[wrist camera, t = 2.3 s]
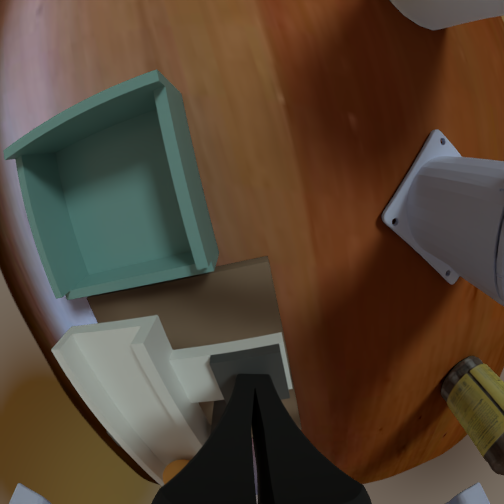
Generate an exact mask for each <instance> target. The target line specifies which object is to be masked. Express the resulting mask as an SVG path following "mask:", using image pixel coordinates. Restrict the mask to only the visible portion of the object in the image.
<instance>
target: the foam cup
mask: <svg viewBox="0 0 504 504" xmlns="http://www.w3.org/2000/svg"><path fill="white" fill-rule="evenodd" d="M390 2H391V3H392V4H393V5H394V6H395V7H396V8H397V9H398V10H399V11H400V12H401V13H402V14H403V15H404V16H405V17H407V18H408V19H410V20H411V21H413V22H414V23H416V24H417V25H419V26H421V27H424V28H427V29H430V30H438V29H443V28H448V27H451V26H455V25H459V24H463V23H467V22H471V21H476V20H481V19H485V18H491V17H496V16H502V15H504V0H390Z"/></svg>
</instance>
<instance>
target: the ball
mask: <svg viewBox="0 0 504 504" xmlns="http://www.w3.org/2000/svg"><path fill="white" fill-rule="evenodd" d="M189 461H190V460H186V459H180V460H175V461H173V462H171V463H170V464H168V465H167V466H166V468H165V469H164V472H163V482H164V485H165V484H166V483H167V482H168V481H169V480H171V479H172V478H173V477H174V476H175V475H176V474H178V473H179V472H180V471H181V470H182V469H183V468H184V467H185V466H186V465H187V463H188V462H189Z"/></svg>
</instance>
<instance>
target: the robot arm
mask: <svg viewBox="0 0 504 504" xmlns="http://www.w3.org/2000/svg"><path fill="white" fill-rule="evenodd" d="M440 139H441V140H442V144H441V143H440ZM394 218H395V219H396V222H395V224H392V220H393V219H394ZM382 221H383V222H384V223H385V224H386V225H387V226H388V227H389V228H391V229H392V230H393V231H394V232H395V233H396V234H397V235H399V236H400V237H401V238H402V239H403V240H404V241H405V242H406V243H408V244H409V245H410V246H411V247H412V248H413V249H414V250H415V251H416V252H417V253H418V254H419V255H421V256H422V257H423V258H424V259H425V260H426V261H427V262H428V263H429V264H430V265H431V266H432V267H433V268H434V269H435V270H436V271H437V272H438V273H439V274H440V275H441V276H442V277H443V278H444V279H445V280H446V281H447V282H448V283H450V284H454V283H455V282H456V281H457V279H458V278H459V276H461V277H462V278H464V279H465V280H467V281H468V282H470V283H471V284H473V285H474V286H475V287H477V288H478V289H480V290H481V291H483V292H484V293H485V294H487V295H488V296H490V297H491V298H492V299H494V300H495V301H497V302H498V303H499V304H501V305H503V306H504V161H496V160H487V159H477V158H466V157H462V156H461V155H460V154H459V152H458V151H457V150H456V149H455V148H454V146H453V145H452V144H451V143H450V142H449V140H448V139H447V138H446V137H445V136H444V135H443V133H442V132H441V131H440V130H433V131H432V132H431V133H430V135H429V137H428V139H427V141H426V142H425V144H424V146H423V148H422V150H421V151H420V153H419V155H418V157H417V158H416V160H415V162H414V163H413V165H412V167H411V168H410V170H409V172H408V173H407V175H406V177H405V178H404V180H403V182H402V183H401V185H400V186H399V188H398V190H397V191H396V193H395V194H394V196H393V198H392V199H391V201H390V202H389V204H388V205H387V207H386V208H385V210H384V211H383V213H382ZM447 271H448V272H447ZM446 272H447V273H446ZM251 426H252V435H253V442H254V450H255V457H256V465H257V483H258V504H372V503H371V500H370V497H369V495H368V493H367V491H366V489H365V487H364V486H363V485H362V484H360V483H359V482H357V481H356V480H354V479H352V478H351V477H350V476H348V475H347V474H345V473H344V472H343V471H341V470H340V469H339V468H337V467H336V466H335V465H334V464H332V463H331V462H330V461H329V460H328V459H327V458H326V457H325V456H324V455H322V454H321V453H320V452H319V451H318V450H317V449H316V448H315V447H314V446H313V445H312V443H311V442H310V441H309V440H308V439H307V438H306V437H305V435H304V434H303V433H302V432H301V430H300V429H299V428H298V426H297V425H296V423H295V422H294V421H293V419H292V418H291V416H290V415H289V413H288V411H287V410H286V408H285V406H284V404H283V403H282V401H281V399H280V397H279V395H278V393H277V391H276V389H275V387H274V384H273V382H272V379H271V376H270V375H269V374H238V375H236V381H235V385H234V389H233V392H232V394H231V397H230V399H229V402H228V404H227V406H226V409H225V411H224V413H223V414H222V416H221V418H220V420H219V422H218V424H217V425H216V427H215V429H214V430H213V432H212V433H211V435H210V436H209V438H208V439H207V441H206V442H205V443H204V445H203V446H202V447H201V449H200V450H199V451H198V452H197V454H196V455H195V456H194V457H193V458H192V459H191V460H190V461H189V462H188V463H187V465H186V466H185V467H184V468H183V469H182V470H181V471H180V472H179V473H178V474H176V475H175V476H174V477H173V478H172V479H171V480H169V481H168V482H167V483H166V484H165V485H163V486H162V487H161V488H160V489H159V491H158V492H157V494H156V496H155V498H154V499H153V501H152V504H257V503H256V493H255V482H254V469H253V454H252V435H251ZM9 504H51V503H50V502H49V501H48V500H47V499H45V498H44V497H43V496H41V495H39V494H38V493H36V492H34V491H32V490H30V489H29V488H27V487H25V486H24V485H22V484H21V483H18V485H17V487H16V489H15V491H14V493H13V496H12V498H11V500H10V503H9ZM445 504H490V502H489V500H488V498H487V496H486V494H485V492H484V490H483V488H482V486H481V484H480V483H479V482H477V483H476V484H474V485H472V486H471V487H469V488H467V489H465V490H464V491H462V492H460V493H459V494H457V495H456V496H455V497H453V498H452V499H451V500H450V501H449V502H447V503H445Z"/></svg>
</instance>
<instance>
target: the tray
mask: <svg viewBox="0 0 504 504" xmlns="http://www.w3.org/2000/svg"><path fill="white" fill-rule="evenodd" d="M52 352H53V354H54V356H55V357H56V359H57V361H58V362H59V364H60V366H61V367H62V369H63V370H64V372H65V374H66V375H67V377H68V378H69V380H70V381H71V383H72V384H73V386H74V387H75V389H76V390H77V392H78V393H79V394H80V396H81V397H82V399H83V400H84V401H85V403H86V404H87V405H88V407H89V408H90V409H91V411H92V412H93V413H94V415H95V416H96V417H97V419H98V420H99V421H100V422H101V423H102V425H103V426H104V427H105V428H106V430H107V431H108V432H109V433H110V434H111V435H112V437H113V438H114V439H115V440H116V441H117V442H118V443H119V444H120V446H121V447H122V448H123V449H124V450H125V451H126V452H127V453H128V454H129V455H130V456H131V457H132V458H133V459H134V460H135V461H136V462H137V463H138V464H139V465H140V466H141V467H142V468H143V469H144V470H145V471H146V472H147V473H148V474H149V475H150V476H151V477H152V478H153V479H154V480H155V481H156V482H158V483H159V484H160V485H161V486H163V485H164V482H163V472H164V469H165V468H166V466H167V465H168V464H170V463H171V462H173V461H175V460H180V459H186V460H191V459H192V458H193V457H194V456H195V455H196V454H197V452H198V451H199V450H200V449H201V447H202V446H203V445H204V443H205V442H206V441H207V439H208V438H209V436H210V433H211V425H210V423H209V422H208V420H207V418H206V416H205V414H204V413H203V411H202V409H201V407H200V405H199V403H198V402H207V401H217V400H225V402H226V404H228V402H229V399H230V397H231V394H232V392H233V389H234V385H235V381H236V375H238V374H269V375H270V376H271V379H272V382H273V384H274V387H275V389H276V391H277V393H278V395H279V397H280V399H281V400H283V399H288V398H290V394H289V389H293V388H292V382H291V377H290V372H289V367H288V362H287V357H286V352H285V347H284V342H283V337H282V332H279V333H275V334H270V335H264V336H259V337H254V338H249V339H243V340H237V341H231V342H225V343H219V344H213V345H206V346H199V347H192V348H184V349H176V350H173V349H172V347H171V345H170V343H169V340H168V338H167V336H166V333H165V331H164V329H163V326H162V324H161V321H160V319H159V316H158V315H154V316H147V317H140V318H134V319H127V320H120V321H113V322H105V323H97V324H90V325H81V326H73V327H71V328H70V329H69V330H68V331H67V332H66V333H65V334H64V336H63V337H62V338H61V339H60V340H59V341H58V342H57V344H56V345H55V346H54V347H53V348H52Z"/></svg>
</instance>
